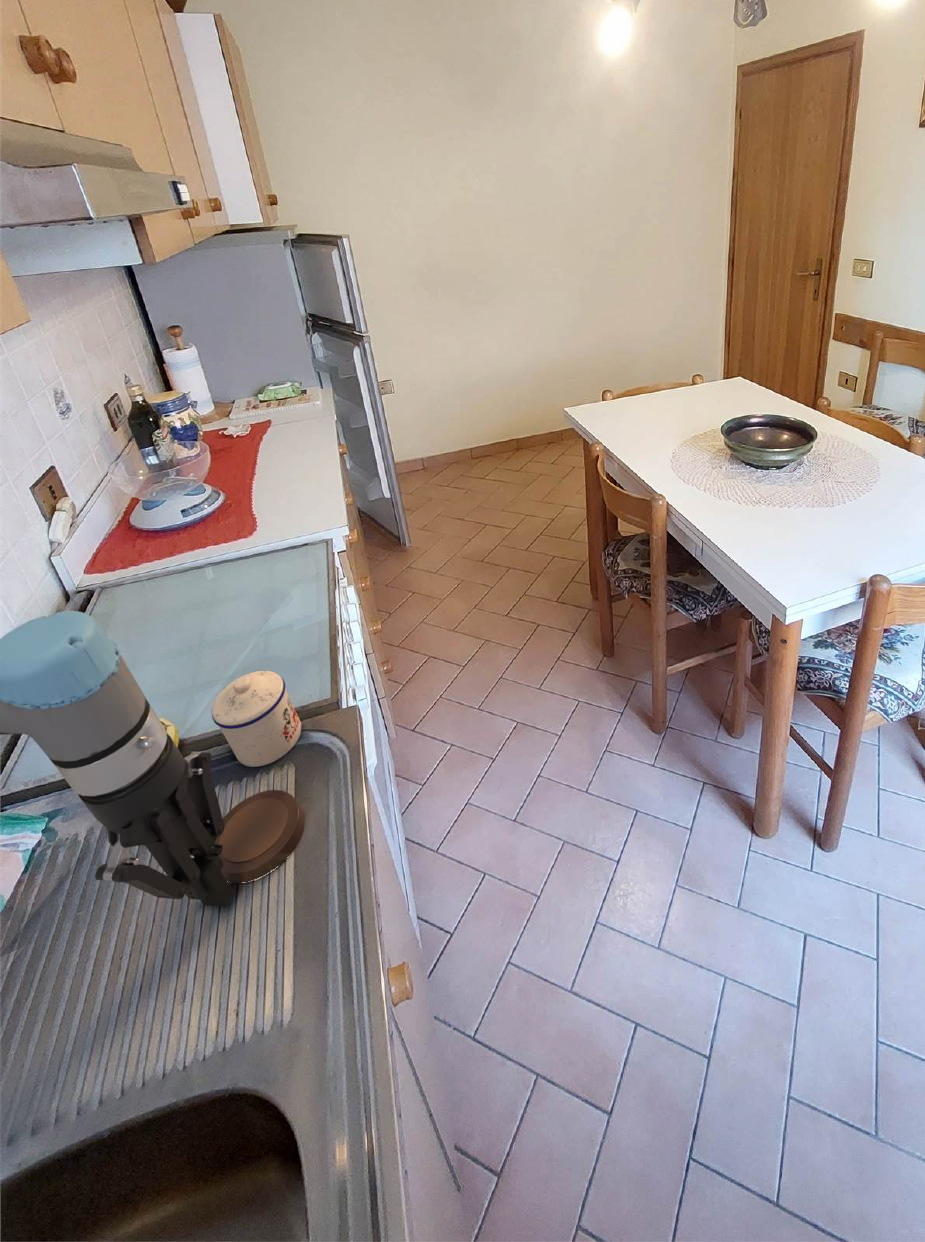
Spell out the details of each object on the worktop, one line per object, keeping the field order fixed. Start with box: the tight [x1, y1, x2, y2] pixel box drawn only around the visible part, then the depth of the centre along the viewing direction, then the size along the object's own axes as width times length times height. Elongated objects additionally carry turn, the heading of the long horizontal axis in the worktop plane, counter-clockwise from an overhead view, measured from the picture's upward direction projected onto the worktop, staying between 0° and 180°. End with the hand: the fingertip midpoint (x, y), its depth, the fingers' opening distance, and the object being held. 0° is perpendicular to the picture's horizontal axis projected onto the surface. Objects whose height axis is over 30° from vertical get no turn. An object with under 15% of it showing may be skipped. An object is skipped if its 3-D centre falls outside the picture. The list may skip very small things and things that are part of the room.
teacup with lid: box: [211, 670, 302, 768], centre depth 85 cm, size 12×9×12 cm
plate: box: [215, 789, 305, 883], centre depth 74 cm, size 10×10×2 cm
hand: (219, 898), depth 68 cm, fingers closed
